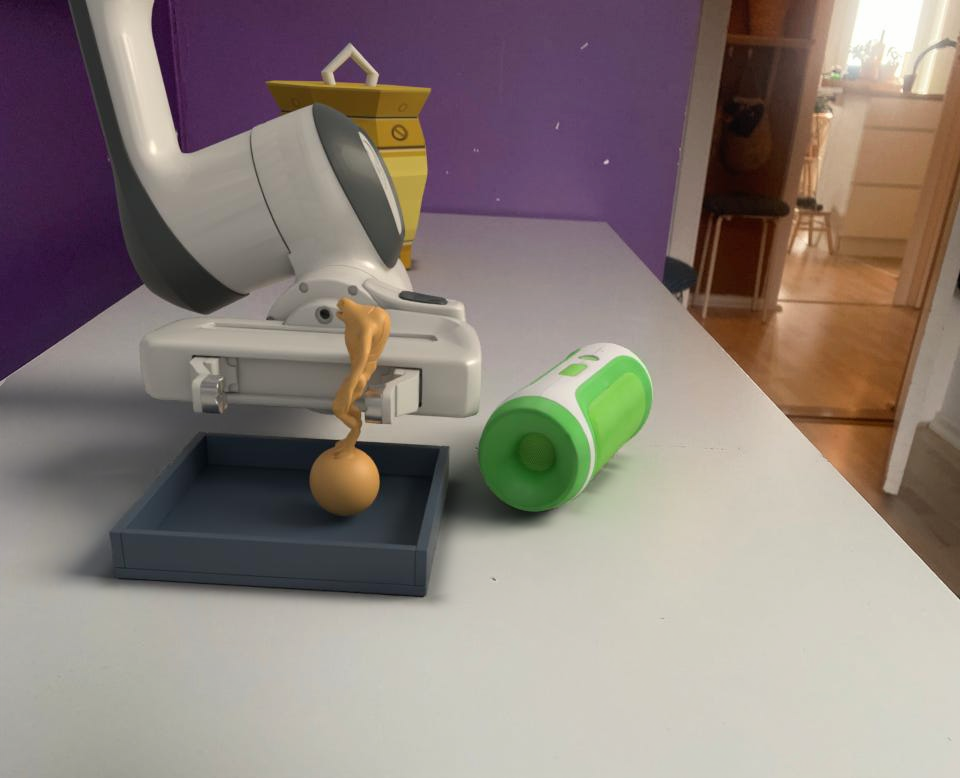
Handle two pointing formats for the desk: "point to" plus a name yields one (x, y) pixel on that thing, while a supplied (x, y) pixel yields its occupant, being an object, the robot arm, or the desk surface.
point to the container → (374, 126)
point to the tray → (284, 518)
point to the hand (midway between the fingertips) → (291, 404)
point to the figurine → (352, 417)
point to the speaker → (564, 427)
